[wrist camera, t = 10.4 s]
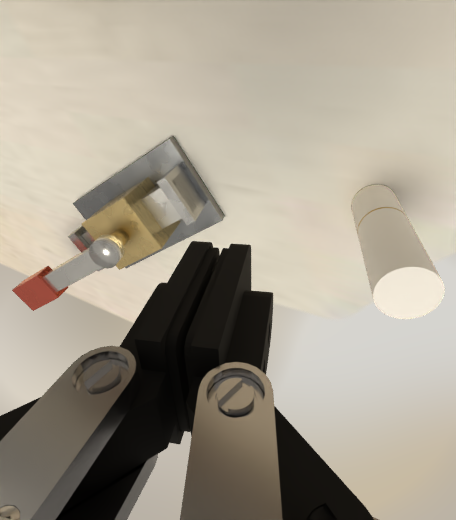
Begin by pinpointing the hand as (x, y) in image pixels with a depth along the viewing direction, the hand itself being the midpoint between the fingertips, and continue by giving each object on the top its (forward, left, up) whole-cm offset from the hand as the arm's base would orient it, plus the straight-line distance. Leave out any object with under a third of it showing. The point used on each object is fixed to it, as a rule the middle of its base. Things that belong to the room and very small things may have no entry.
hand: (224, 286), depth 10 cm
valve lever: (+1, -24, -18) cm, 30 cm away
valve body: (+1, -18, -27) cm, 33 cm away
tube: (+12, +4, -27) cm, 30 cm away
